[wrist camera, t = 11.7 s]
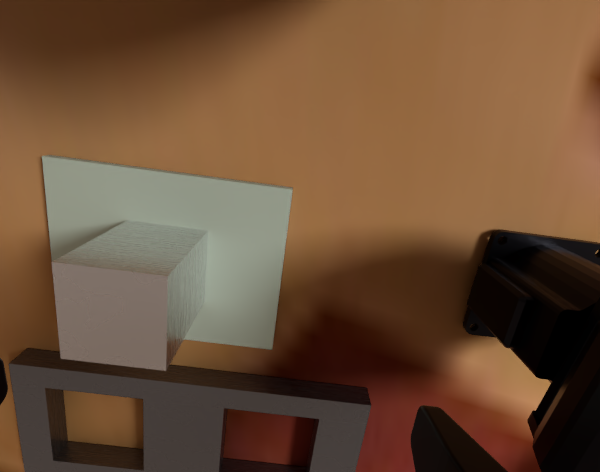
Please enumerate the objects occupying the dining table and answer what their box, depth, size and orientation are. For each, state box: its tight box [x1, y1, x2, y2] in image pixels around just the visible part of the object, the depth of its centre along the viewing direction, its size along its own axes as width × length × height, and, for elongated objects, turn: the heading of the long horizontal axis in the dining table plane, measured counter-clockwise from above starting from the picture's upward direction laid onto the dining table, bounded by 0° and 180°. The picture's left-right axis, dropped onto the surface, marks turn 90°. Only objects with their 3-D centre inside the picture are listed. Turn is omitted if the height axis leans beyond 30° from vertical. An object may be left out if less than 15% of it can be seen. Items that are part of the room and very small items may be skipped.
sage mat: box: [42, 155, 293, 350], centre depth 20 cm, size 13×10×1 cm
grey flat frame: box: [9, 348, 371, 472], centre depth 23 cm, size 22×9×2 cm, turn 82°
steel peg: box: [52, 220, 208, 371], centre depth 17 cm, size 4×4×6 cm
